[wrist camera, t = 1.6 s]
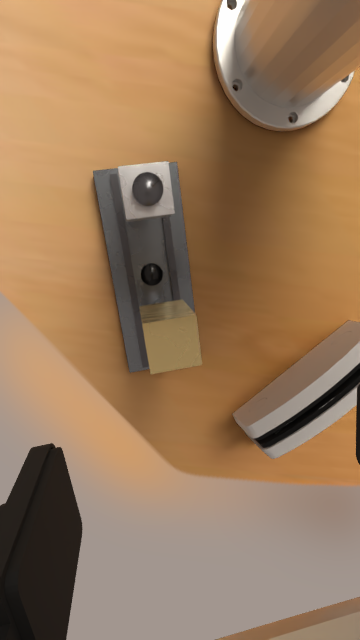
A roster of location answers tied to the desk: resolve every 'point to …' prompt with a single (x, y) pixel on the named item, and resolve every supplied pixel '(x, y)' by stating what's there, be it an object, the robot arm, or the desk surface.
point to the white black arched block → (305, 395)
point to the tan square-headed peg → (170, 336)
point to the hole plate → (144, 244)
